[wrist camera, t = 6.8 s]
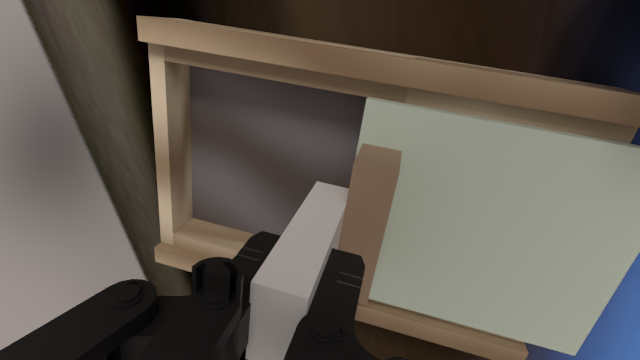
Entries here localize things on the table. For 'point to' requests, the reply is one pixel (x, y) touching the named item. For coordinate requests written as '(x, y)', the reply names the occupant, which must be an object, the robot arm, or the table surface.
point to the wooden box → (319, 136)
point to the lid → (491, 221)
